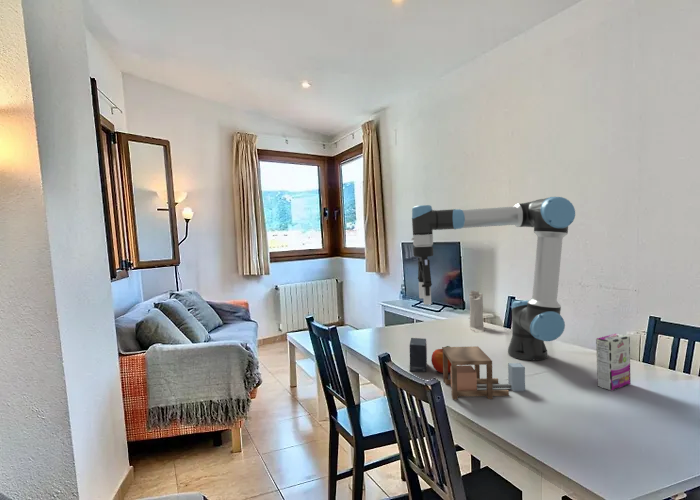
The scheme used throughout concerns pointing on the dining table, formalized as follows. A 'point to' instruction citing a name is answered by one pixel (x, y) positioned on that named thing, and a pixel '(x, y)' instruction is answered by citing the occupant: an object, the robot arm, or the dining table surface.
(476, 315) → the beige paper bag
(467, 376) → the block barbell
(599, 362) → the candy bar box
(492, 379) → the shelf
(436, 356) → the fruit
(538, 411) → the dining table surface
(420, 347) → the small box
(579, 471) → the dining table surface
